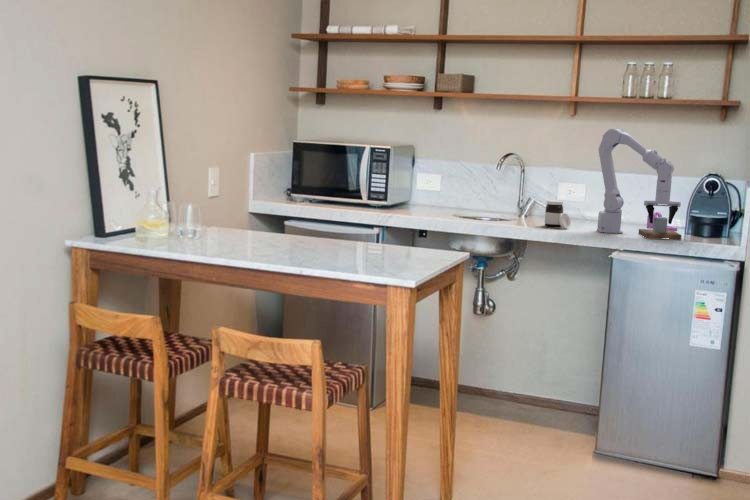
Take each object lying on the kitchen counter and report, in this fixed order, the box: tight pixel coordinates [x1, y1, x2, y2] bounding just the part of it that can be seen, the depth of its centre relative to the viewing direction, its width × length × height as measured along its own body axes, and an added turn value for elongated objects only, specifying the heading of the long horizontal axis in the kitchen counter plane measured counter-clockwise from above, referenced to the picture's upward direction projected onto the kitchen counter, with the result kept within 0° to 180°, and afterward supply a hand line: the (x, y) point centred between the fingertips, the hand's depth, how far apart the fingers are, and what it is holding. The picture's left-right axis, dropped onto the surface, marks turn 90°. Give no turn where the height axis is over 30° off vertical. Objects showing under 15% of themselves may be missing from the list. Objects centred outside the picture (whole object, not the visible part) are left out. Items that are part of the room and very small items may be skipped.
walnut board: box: [638, 228, 682, 240], centre depth 355 cm, size 14×14×2 cm
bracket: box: [646, 211, 678, 232], centre depth 379 cm, size 13×6×7 cm, turn 41°
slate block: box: [652, 216, 669, 233], centre depth 355 cm, size 4×4×6 cm
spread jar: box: [544, 199, 572, 230], centre depth 374 cm, size 12×11×12 cm
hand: (660, 223), depth 355 cm, fingers open, 7 cm apart
